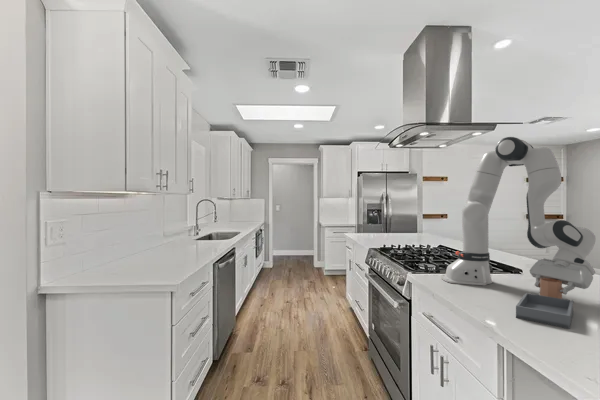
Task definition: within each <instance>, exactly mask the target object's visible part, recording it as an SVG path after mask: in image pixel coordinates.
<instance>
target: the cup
mask: <svg viewBox="0 0 600 400" xmlns="http://www.w3.org/2000/svg"><path fill="white" fill-rule="evenodd" d="M562 287H563V284H562V282H561V281H560V280H557V279H552V278H540V288H539V295H542V296H548V297H554V298H560V299H563V294H562V293H561V292H560V289H561V288H562Z"/></svg>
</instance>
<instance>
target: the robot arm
mask: <svg viewBox="0 0 600 400" xmlns="http://www.w3.org/2000/svg"><path fill="white" fill-rule="evenodd" d="M494 150H495V151H494ZM494 150H491V151H487V152H485V153H484V154H483V155H482V157H481V159H480V160H479V163H478V164H477V167H476V170H475V173H474V176H473V179H472V183H471V185H470V189H469V190H468V191H469V192H468V194H467V195H468V196H467V198H466V202H465V205H464V206H463V208H462V210H461V223H462V251H459V250H457V251H455V255H457V256H458V258H457V259H456V260H454V261H453V262H452V263H450V264H448V265H447V267H446V271H445V273H444V274H441V277H440V278H441V279H442V280H443V281H445V282H447V283H450V284H457V285H458V284H459V285H471V286H472V285H473V286H487V285H488V284H489V285H490V284H492V283H493V280H492V276H491V270H490V260H491V257H490V252H489V214H490V209H491V208H492V205H493V202H494V199H495V197H496V193H497V191H498V187H499V184H500V182H501V179H502V176H503V173H504V170H505V168H506V167H517V166H518V167H519V166H524V167H525V170H526V173H527V179H528V189H527V193H526V197H525V198H526V212H527V223H528V225H527V233H526V235H527V236H526V237H527V240H528V241H529V243H530V244H531V245H532V246H533V247H534V248H538V249H546V248H550V247H557V248H558V249H557V252H556V253H555V255H554V256H553V258H552V259H549V258H541V259H537V261H536V262H535V263H534V264H533V265H532V266H531V267H530V269H529V273H530V275H531V276H532V277H533V278H535V283H534V286H535V287H536V288H538V289H540V278H552V279H557V280H560V281H561V282H562V285H565V287H563V286H562V288H561V289H560V292H561V293H562V295H567V294H568V292H570V291H573V290H575V288H578V289H583V290H586V289H588V288H589V287H590V286H591V284H592V282H593V281H594V280H593V279H594V275H595V274H596V271H595V269H594V267H593V266H592V264H591V263H590V261H588V260H586V258H587V257H588V256H589V255H590V254H591V252H592V250H593V249H594V246H595V244H596V235H595V234H594V232H593V231H591V230H590V229H588V228H586V227H581V226H576V225H573V224H572V223H571V222H570V221H567V220H564V219H561V220H555V221H549V222H547V223H546V217H545V204H546V201H547V200H548V198H549V197H550V196H551V195H552V194H553V193H555V192H556V191H557V190H558V189H559V188H560V186H561V184H562V173H561V170H560V167H559V164H558V160H557V158H556V156H555V154H554V152H553V151H552V149H551V148H550V147H547V146H538V147H533V145H531V144H530V143H528V141H526V140H523V139H520V138H518V137H514V136H506V137H504V138H501V139H499V141H498V142H497V143H496V145H495V149H494Z"/></svg>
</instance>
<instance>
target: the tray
mask: <svg viewBox="0 0 600 400" xmlns="http://www.w3.org/2000/svg"><path fill="white" fill-rule="evenodd" d="M573 315H574V300H573V299H572V300H571V299H565V298H562V299H560V298H554V297H548V296H542V295H540V294H536V293H535V294H533V293H529V292H525V293H524V294H523V296H522V297H521V298H520V299H519V301H518V302H517V304H516V305H515V318H516V319H521V320H526V321H528V322H529V321H530V322H536V323H540V324H544V325H549V326H554V327H559V328H564V329H567V330H569V329H571V326H572V319H573Z"/></svg>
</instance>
